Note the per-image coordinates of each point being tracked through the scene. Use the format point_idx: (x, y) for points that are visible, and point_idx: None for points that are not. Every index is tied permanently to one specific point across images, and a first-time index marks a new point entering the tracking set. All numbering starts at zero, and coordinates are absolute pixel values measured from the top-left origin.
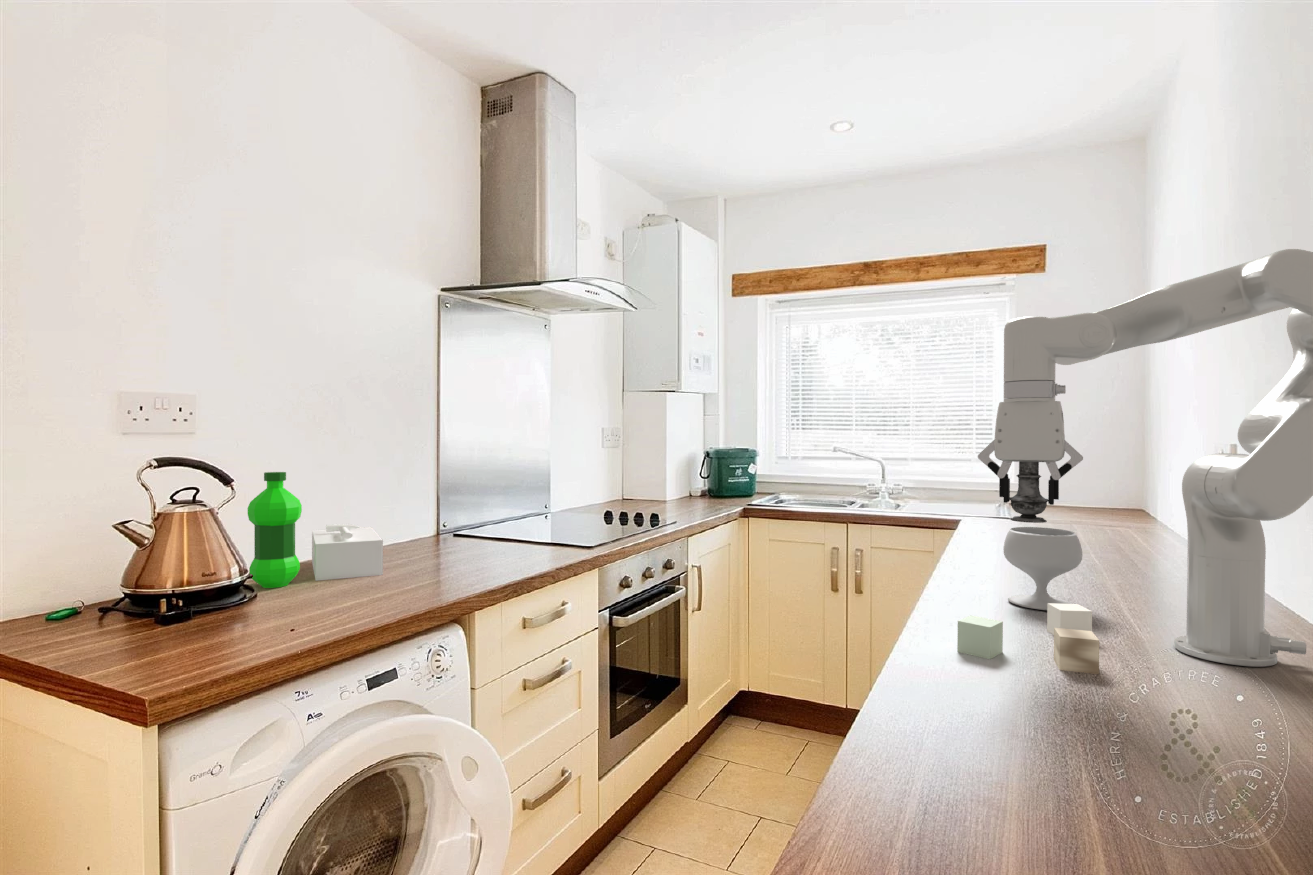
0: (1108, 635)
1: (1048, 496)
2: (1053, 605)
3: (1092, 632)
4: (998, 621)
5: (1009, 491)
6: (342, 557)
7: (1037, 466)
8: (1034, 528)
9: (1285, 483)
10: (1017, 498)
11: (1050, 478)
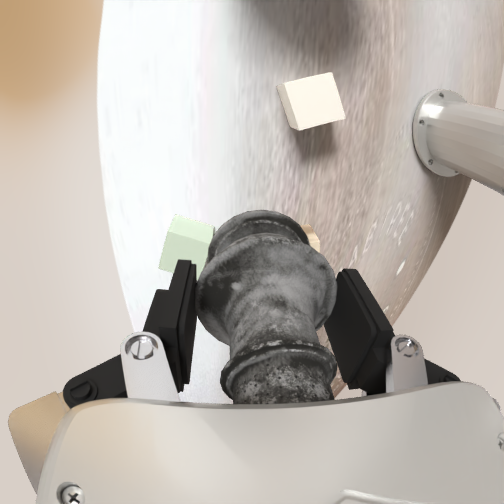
0: (355, 80)
1: (329, 340)
2: (292, 97)
3: (319, 247)
4: (206, 247)
5: (192, 301)
6: None
7: None
8: None
9: None
10: (227, 338)
11: (359, 380)
